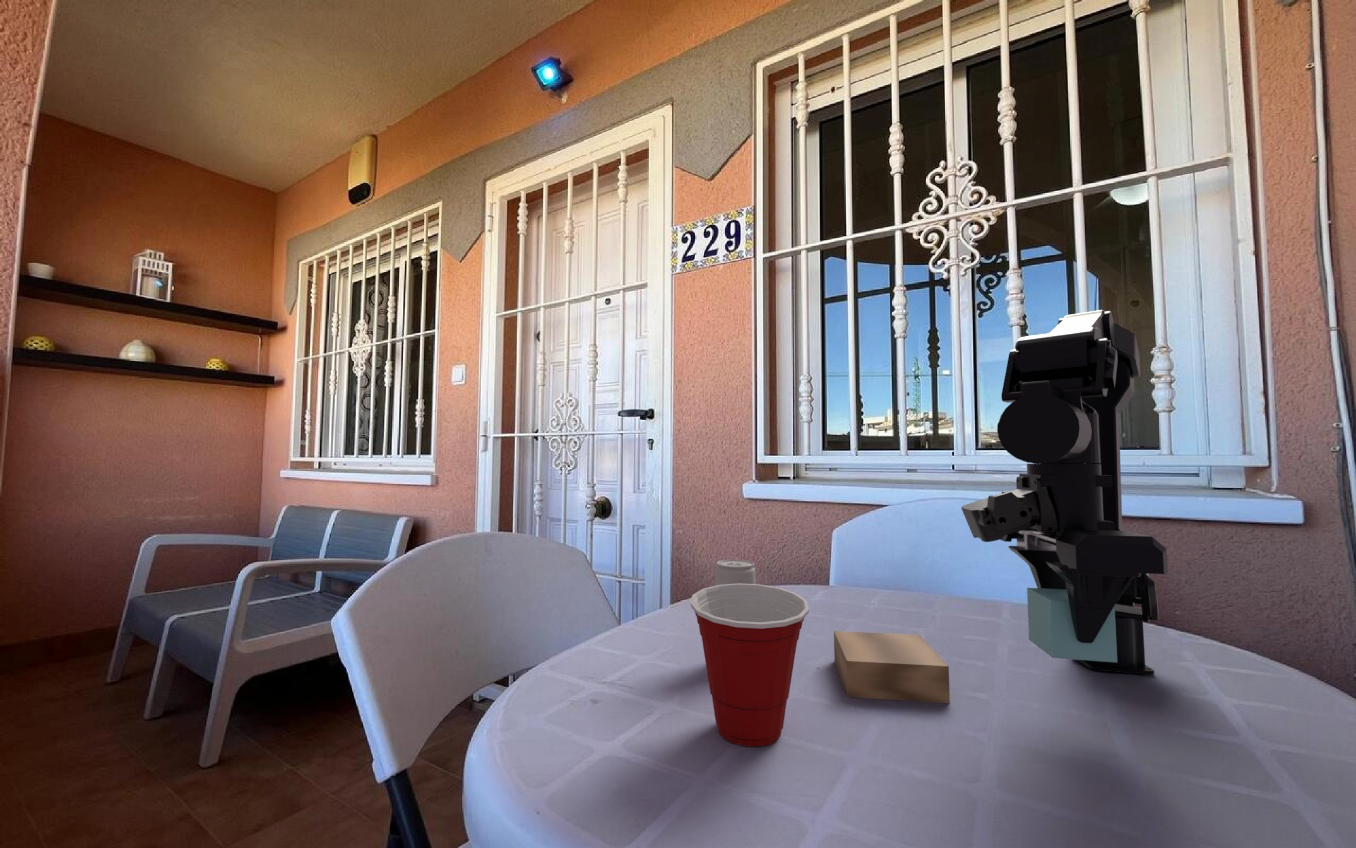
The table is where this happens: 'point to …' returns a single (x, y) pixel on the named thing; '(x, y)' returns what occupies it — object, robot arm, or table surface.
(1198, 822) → the table surface
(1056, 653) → the teal cube
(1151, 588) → the robot arm
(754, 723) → the plastic cup
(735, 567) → the beverage can
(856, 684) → the light brown wooden block
